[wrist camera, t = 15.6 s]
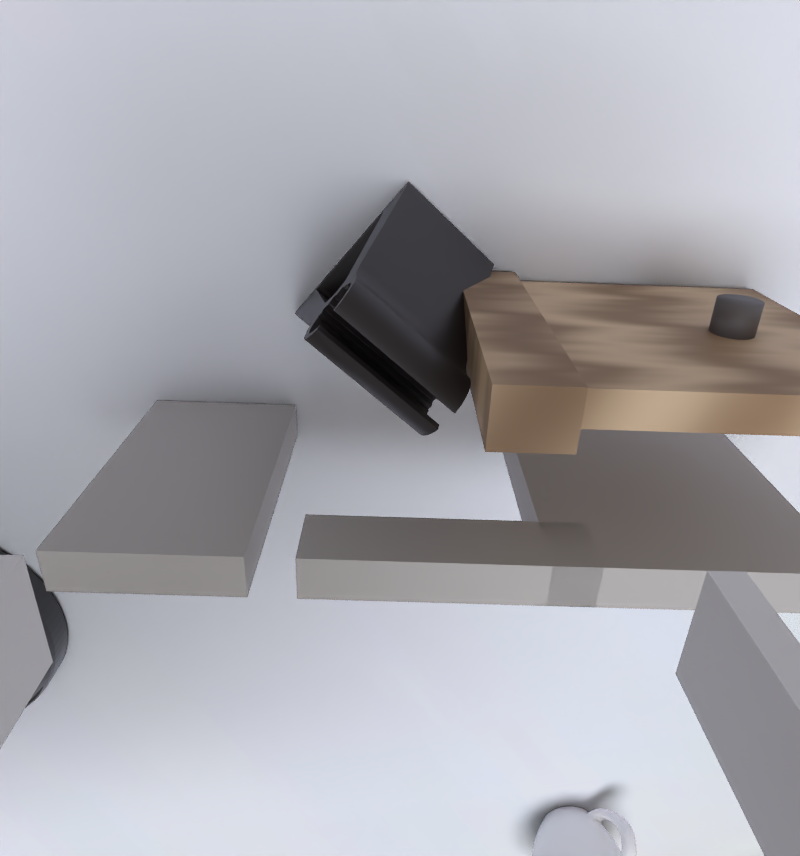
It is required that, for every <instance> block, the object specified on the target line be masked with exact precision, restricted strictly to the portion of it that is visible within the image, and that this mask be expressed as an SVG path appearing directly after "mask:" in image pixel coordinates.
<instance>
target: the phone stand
mask: <svg viewBox="0 0 800 856" xmlns="http://www.w3.org/2000/svg"><path fill="white" fill-rule="evenodd" d="M492 268H493V263H492V262H491V261H490V260H489V259H488V258H487V257H485V256H484V255H483V254H482V253H481V252H480V251H479V250H478V249H477V248H476V247H475V246H474V245H473V244H472V243H471V242H470V241H469V240H468V239H467V238H466V237H465V236H464V235H463V234H462V233H461V232H460V231H459V230H458V229H457V228H456V227H455V226H454V225H453V224H452V223H451V222H450V221H448V220H447V219H446V218H445V217H444V216H443V215H442V214H441V213H440V212H439V211H438V210H437V209H436V208H435V207H434V206H433V205H432V204H431V203H430V202H429V201H428V200H427V199H426V198H425V197H424V196H423V195H422V194H421V193H420V192H419V191H418V190H417V189H416V188H415V187H414V186H412V185H411V184H410V183H409V182H408V183H407V184H406V185H405V186H404V187H403V188H402V189H401V191H400V192H399V193H398V194H397V195H396V196H395V197H394V199H393V200H392V201H391V202H390V203H389V204H388V206H387V207H386V208H385V209H384V210H383V211H382V213H381V214H380V215H379V216H378V217H377V218H376V219H375V221H374V222H373V223H372V224H371V225H370V226H369V228H368V229H367V230H366V231H365V232H364V233H363V235H362V236H361V237H360V238H359V239H358V240H357V242H356V243H355V244H354V245H353V246H352V248H351V249H350V250H349V251H348V252H347V253H346V254H345V255H344V257H343V258H342V259H341V260H340V261H339V262H338V264H337V265H336V266H335V267H334V268H333V269H332V270H331V272H330V273H329V274H328V275H327V276H326V277H325V279H324V280H323V281H322V282H321V283H320V284H319V286H318V287H317V288H316V289H315V290H314V291H313V292H312V294H311V295H310V296H309V297H308V298H307V299H306V301H305V302H304V303H303V304H302V305H301V306H300V308H299V309H298V310H297V311H296V313H295V314H296V315H297V316H298V317H299V318H301V319H302V320H303V321H304V322H305V323H307V324H308V325H309V326H310V327H309V329H308V331H307V333H306V335H305V337H304V339H305V340H306V341H307V342H309V343H310V344H311V345H312V346H313V347H315V348H316V349H317V350H318V351H320V352H321V353H322V354H323V355H324V356H326V357H327V358H328V359H329V360H330V361H332V362H333V363H334V364H335V365H337V366H338V367H339V368H340V369H341V370H343V371H344V372H345V373H346V374H348V375H349V376H350V377H351V378H352V379H354V380H355V381H356V382H357V383H359V384H360V385H361V386H362V387H363V388H365V389H366V390H367V391H368V392H369V393H371V394H372V395H373V396H374V397H376V398H377V399H378V400H379V401H380V402H382V403H383V404H384V405H385V406H387V407H388V408H389V409H390V410H391V411H393V412H394V413H395V414H396V415H398V416H399V417H400V418H401V419H402V420H404V421H405V422H406V423H407V424H408V425H410V426H411V427H412V428H413V429H415V430H416V431H417V432H418V433H419V434H421V435H429V434H431V433H433V432H435V431H436V430H438V427H439V424H438V423H437V422H435V421H434V420H433V419H432V418H431V417H429V416H428V415H427V412H428V409H429V408H430V407H431V405H432V401H433V400H435V399H436V398H437V399H438V400H439V401H441V402H442V403H443V404H444V405H445V406H446V407H448V408H449V409H450V410H451V411H452V412H454V413H456V411H457V410H458V409H459V407H460V406H461V405H462V403H463V401H464V400H465V398H466V396H467V394H468V392H469V389H470V386H471V379H470V378H469V377H468V375H467V372H466V364H467V360H468V359H467V343H466V327H465V311H464V295H463V291H464V290H466V289H467V288H469V287H471V286H473V285H475V284H477V283H479V282H481V281H483V280H485V279H487V278H489V277H490V276H491V272H492Z"/></svg>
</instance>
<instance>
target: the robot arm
mask: <svg viewBox="0 0 800 856" xmlns="http://www.w3.org/2000/svg"><path fill="white" fill-rule="evenodd" d="M67 641H68V634H67V627H66V622H65V619H64V616H63V613H62V611H61V609H60V607H59V605H58V603H57V601H56V599H55V598H54V596H53V595H52V593H51V592H50V591H46V588H45V585H44V583H43V582H42V581H41V580H40V579H39V578H38V577H37V576H36V575H35V574H34V573H32V572H31V571H30V570H29V569H28V568H27V566H26V563H25V559H24V555H8V554H6V553H4V552H3V551H1V550H0V748H1V747H2V745H3V743H4V742H5V740H6V738H7V737H8V735H9V733H10V732H11V730H12V729H13V727H14V725H15V724H16V722H17V720H18V719H19V717H20V715H21V714H22V712H23V710H24V709H25V708H26V707H27V706H28V705H30V704H31V703H32V702H33V701H35V700H36V699H37V698H38V697H39V696H40V694H41V693H42V692H43V691H44V690H45V688H46V687H47V685H48V684H49V682H50V680H51V679H52V677H53V676H54V674H55V672H56V671H57V669H58V667H59V666H60V664H61V662H62V660H63V658H64V656H65V653H66V648H67ZM676 676H677V678H678V680H679V682H680V684H681V686H682V688H683V690H684V692H685V694H686V696H687V698H688V700H689V702H690V704H691V706H692V708H693V710H694V712H695V714H696V717H697V719H698V721H699V723H700V725H701V727H702V729H703V731H704V733H705V735H706V737H707V739H708V741H709V743H710V745H711V747H712V749H713V751H714V753H715V755H716V757H717V759H718V761H719V764H720V766H721V768H722V770H723V772H724V774H725V776H726V778H727V780H728V782H729V784H730V786H731V788H732V790H733V792H734V794H735V796H736V798H737V800H738V802H739V804H740V806H741V809H742V811H743V813H744V815H745V817H746V819H747V821H748V823H749V825H750V827H751V829H752V831H753V833H754V835H755V837H756V839H757V841H758V843H759V845H760V847H761V849H762V851H763V853H764V856H800V643H799V642H798V641H797V639H796V638H795V637H794V635H793V634H792V633H791V631H790V630H789V629H788V627H787V626H786V625H785V623H784V622H783V621H782V619H781V618H780V617H779V615H778V614H777V613H776V611H775V610H774V609H773V607H772V606H771V605H770V603H769V602H768V600H767V599H766V598H765V596H764V595H763V594H762V592H761V591H760V590H759V588H758V587H757V586H756V584H755V583H754V582H753V580H752V579H751V578H750V576H749V575H748V574H747V572H739V571H707V573H706V576H705V579H704V583H703V586H702V589H701V592H700V596H699V599H698V602H697V605H696V609H695V612H694V615H693V618H692V622H691V625H690V628H689V631H688V635H687V638H686V641H685V645H684V648H683V651H682V654H681V658H680V661H679V664H678V667H677V671H676Z"/></svg>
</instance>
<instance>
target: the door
mask: <svg viewBox="0 0 800 856" xmlns="http://www.w3.org/2000/svg"><path fill="white" fill-rule="evenodd" d="M463 295H464V311H465V327H466V343H467V359H468V360H467V364H466V371H467V375H468V377H469V378H470V379H471V386H470V388H471V393H472V397H473V401H474V406H475V410H476V414H477V419H478V423H479V427H480V431H481V436H482V440H483V444H484V449H485V452H509V453H540V454H571V455H576V453H577V448H578V442H579V437H580V431H581V429H596V430H627V431H658V432H689V433H720V434H750V435H781V436H800V315H798V314H797V313H795V312H793V311H791V310H789V309H788V308H786V307H784V306H782V305H780V304H778V303H777V302H775V301H773V300H771V299H769V298H768V297H766V296H764V295H762V294H760V293H759V292H757V291H755V290H753V289H730V288H701V287H673V286H644V285H616V284H588V283H559V282H531V281H520V280H519V278H518V276H517V275H516V273H515V272H494V271H492V272H491V276H490V277H489V278H487V279H485V280H483V281H481V282H479V283H477V284H475V285H473V286H471V287H469V288H467V289H466V290H464V291H463Z"/></svg>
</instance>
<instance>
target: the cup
mask: <svg viewBox="0 0 800 856" xmlns="http://www.w3.org/2000/svg"><path fill="white" fill-rule="evenodd" d="M603 820H608V821H610V822H612V823H613V824H614V825H615V826H616V827H617V829H618V831H619V833H620V836H621V843H622V851H620V849H619V847H618V845H617V844H616V842H615V841H614V839H613V838H612V837H611V835H610V834H609V833H608V831H607V830H606V829H605V828H604V827H603V825H602V824H601V822H602V821H603ZM636 854H637V848H636V840H635V835H634V832H633V829H632V827H631V826H630V824H629V823H628V822H627V820H626V819H625V818H623V817H622V816H620V815H619V814H617V813H615V812H612V811H610V810H607V809H602V808H598V809H594V810H592V811H591V812H587V811H586V810H584V809H582V808H579V807H574V806H566V807H560V808H557V809H554V810H552V811H551V812H549V813H548V814H547V815H546V816H545V817H544V819H543V821H542V823H541V825H540V827H539V830H538V832H537V835H536V838H535V841H534V845H533V850H532V856H636Z"/></svg>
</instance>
